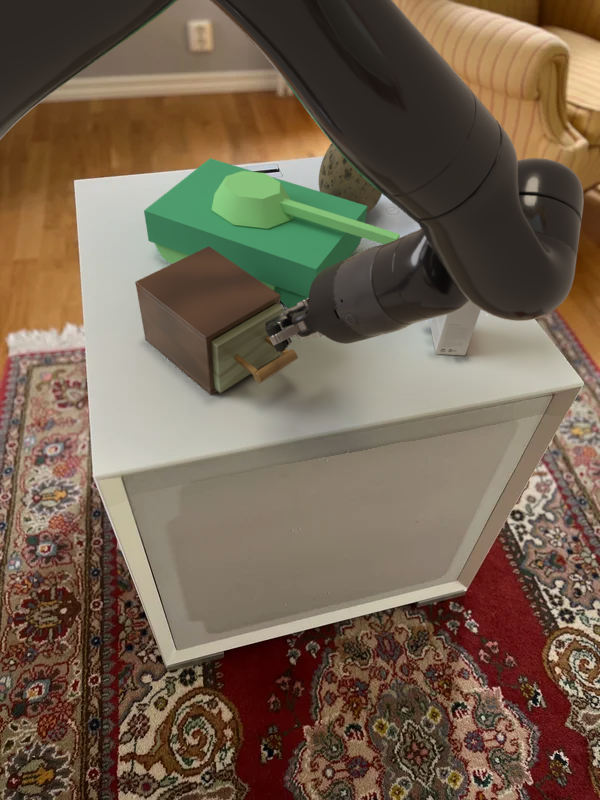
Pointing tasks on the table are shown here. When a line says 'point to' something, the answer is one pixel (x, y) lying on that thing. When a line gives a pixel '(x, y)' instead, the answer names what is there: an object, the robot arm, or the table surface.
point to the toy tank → (259, 226)
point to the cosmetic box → (454, 330)
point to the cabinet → (198, 308)
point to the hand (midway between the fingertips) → (273, 329)
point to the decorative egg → (345, 180)
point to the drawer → (248, 351)
